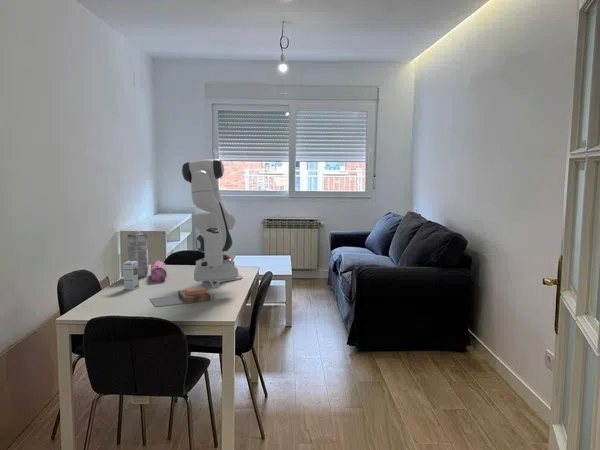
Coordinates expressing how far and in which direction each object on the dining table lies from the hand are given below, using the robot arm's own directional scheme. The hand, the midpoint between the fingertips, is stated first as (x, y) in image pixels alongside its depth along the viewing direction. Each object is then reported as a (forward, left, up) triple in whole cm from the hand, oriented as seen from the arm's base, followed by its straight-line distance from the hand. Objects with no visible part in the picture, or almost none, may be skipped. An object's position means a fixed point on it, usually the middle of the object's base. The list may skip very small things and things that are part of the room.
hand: (215, 288), depth 259 cm
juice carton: (+28, -66, -4) cm, 72 cm away
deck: (+11, 0, -4) cm, 11 cm away
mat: (+24, 0, -4) cm, 24 cm away
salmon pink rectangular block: (+10, 0, -1) cm, 10 cm away
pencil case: (+18, -55, -4) cm, 58 cm away
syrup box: (+36, -36, -4) cm, 51 cm away
